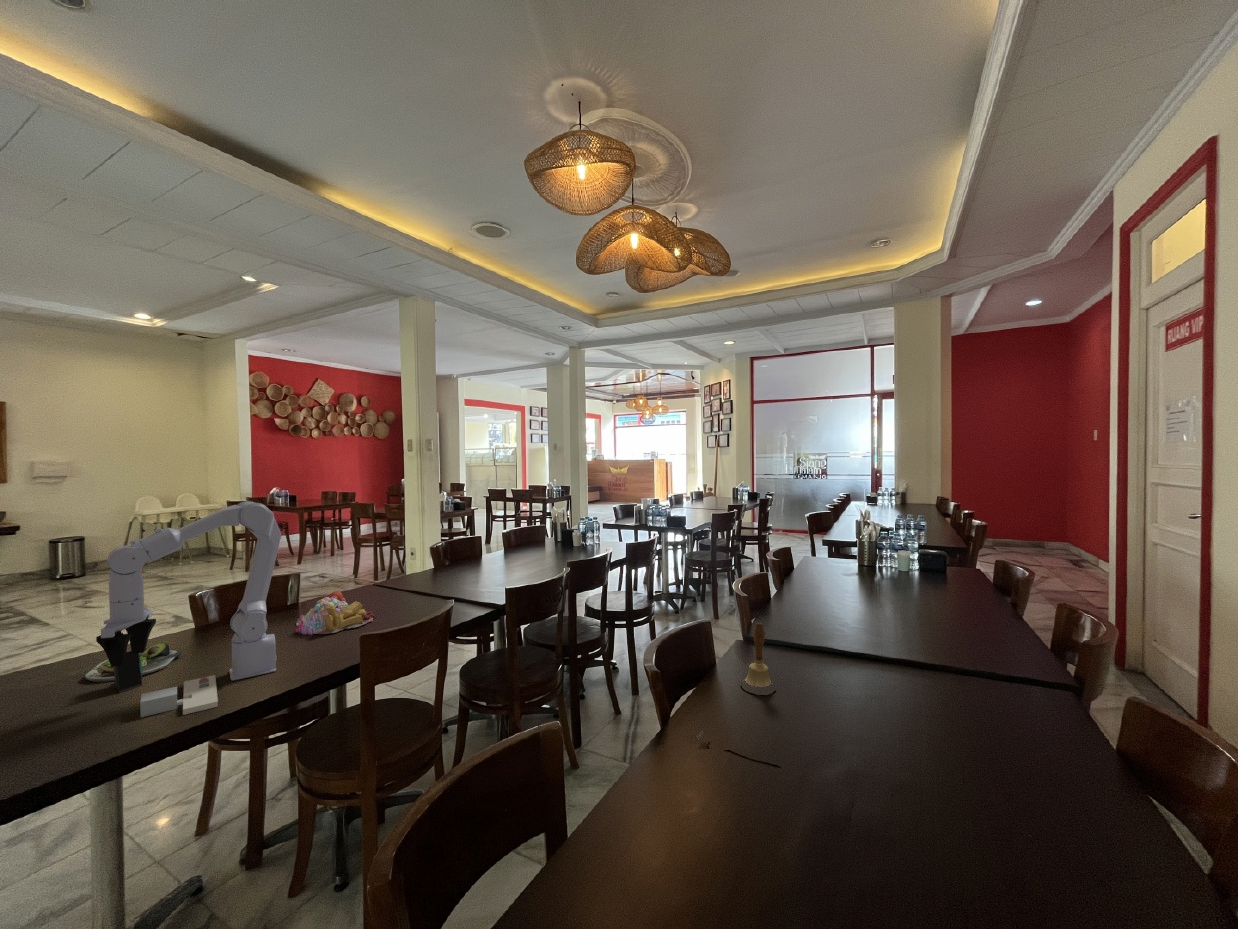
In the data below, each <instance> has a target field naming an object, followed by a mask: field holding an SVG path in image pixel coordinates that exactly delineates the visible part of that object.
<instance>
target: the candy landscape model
mask: <svg viewBox="0 0 1238 929" xmlns="http://www.w3.org/2000/svg"><path fill="white" fill-rule="evenodd" d="M362 607H363V604H361V602H359V601H356V600H355V601H353V602H352V603H351V604H348V603H347V600H346V598H345V597H343V593H342V592H341V591H339V590H334V591H332V592H330V595H329V596H325V597H324V598H321V599H320V600H318V601H316V604H315V605H314V607H313V608H309V611H308V612H307V613H306V614H305V615H304V614H300V616H299V618H297V622H295V625H296V627H298V628H296V629H295V632H296V633H298V634H302V635H303V636H304V635H305V636H307V635H310V636H313V635H315V634H316V635H317V634H318V635H327V634H334V633H338V632H340V631H343V630H345V629H346V630H347V629H351V628H352V629H354V628H359V627H361V626H363V625H366V624H367V623H369V622H373V621H374V619H376V615H375V614H374V613H373V611H369V610H368V611H366V610H365V609H364V608H362Z"/></svg>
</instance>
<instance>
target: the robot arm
mask: <svg viewBox="0 0 1238 929" xmlns="http://www.w3.org/2000/svg"><path fill="white" fill-rule="evenodd" d="M240 525H241V526H243V527H245V528H247V529H248V530H249V531H250V532H251V533H252V534H253V535H254V536H255V538H256V539H257V540H256V544H255V547H254V548H255V549H254V553H253V556H252V559H251V560H252V561H251V564H250V569H249V573H248V577H247V581H246V585H245V588H244V593H243V597H242V599H241V601H240V602H239V604H238V607H237V609H236V612H235V613H234V614H233V615H232V616H231V619H230V623H229V624H230V625H229V626H230V628H231V630H233V631H234V634H233V636H232V638H231V668H230V669H229V676H230V681H232V682H233V681H238V680H242V679H247V678H251V677H257V676H260V675H261V676H262V675H266V674H268V673H269V674H270V673H274V672H276V671H277V647H276V645H277V644H276V636H275V633H270V634H267V630H268V621H267V617H266V616H267V612H268V611H267V604H266V603H267V597H268V593H269V589H270V586H271V580H272V577H273V576H272V575H273V572H274V568H275V565H276V561H277V560H276V559H277V555H278V551H279V547H280V542H281V539H282V532H281V529H280V527H279V525H278V523H277V521H276V518H275V513H274V512H273V511H271V509H269V508H268V507H267V505H265V504H263V503H259V502H255V501H252V500H245V501H241V502H240V503H237V504H234V505H233V504H232V505H229V506H227V507H225V508H222V509H219V510H217V511H214V512H212V513H210V514H208V515H207V516H204V517H201V518H200V519H197V520H195V521H193V522H191V523H189V524H187V525H184V526H182V527H180V528H178V529H175V528H171V527H166V528H164V529H163V528H162V527H159V528H157V529H154V533H152V534H150V535H147V536H145V537H143V538H140V539H138V540H135V539H132V540H130V541H129V544H130V545H121V546H117V547H115V548H114V549H113V550H111V551H110V553H108V557H107V558H106V563H107V565H108V567H109V568H110V569H109V573H108V576H109V577H108V578H109V581H108V600H109V604H108V605H109V619H105V620H104V621H103V625H105V626H104V627H103V628H101V629H100V635H98V636H96V637H95V639H96V640H95V641H96V643H97V644H99V645H100V647H101V648H102V650H103V651H104V653H105V655H106V657H107V660H109V662H110V665H111V666H122V665H124V664H125V660H126V652H128V651H127V650H128V649H127V648H128V647H129V646H128V645H129V644H130V651H132V653H133V654H134V653H140V654H141V653H143V652H145V649H146V648H147V645H148V641H149V638H150V635H151V632H152V630H153V629H154V626H155V625H156V623H157V619H156V618H151V617H152V609H150V608H148V609H145V592H144V590H145V589H144V585H145V584H144V582H145V581H144V577H143V572H142V571H143V567H144V566H145V564H146V563H147V564H148V563H152V562H155V561H157V560H159V559H161V558H163V557H166V556H168V555H171V554H172V553H175V552H177V551H179V550H182V548H183V546H184V544H185V543H186V541H189V540H191V539H193V538H196V537H198V536H200V535H203V534H206V533H209V532H210V531H213V530H215V529H218V528H220V527H223V526H225V527H230V526H231V527H239V526H240ZM124 630H125V631H126V633H124V632H122V631H124Z"/></svg>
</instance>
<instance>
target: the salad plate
mask: <svg viewBox="0 0 1238 929" xmlns="http://www.w3.org/2000/svg"><path fill="white" fill-rule="evenodd" d="M185 652H186V650H182V649H181V650H180V651H177V650H174V649H173V650H172V649H170V646H169V644H168V643H166V642H156V643H153V644H151V645H150V646H148V647H146V649H145V652H143V653H140V662H141V664H142V676H145V675H149V674H152V673H155V672H157V671H158V672H159V671H160V670H162V669H164V668H166V667H167V666H168V665H169V664H170V663H172V662H173V661H174V660H175V659H176V658H178V657H179V656H180V655H182V654H184V653H185ZM103 671H104V672H106V673H114V668H113V666H111V665H110V662H109V660H108V659H105V660H104V661H102V662H100V663H98V664H97V665H96V666H95V667H93V668H92V669H91V670H89V671H88V672H86V674H85V675H84V678H85V679H86V680H89V681H92V682H95V683H106V682H107V683H108V682H115V678H114V675H113V676H105V677H102V676H101V677H100V676H99V675H102V674H101V672H103ZM104 672H103V673H104Z"/></svg>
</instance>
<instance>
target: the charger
mask: <svg viewBox="0 0 1238 929" xmlns="http://www.w3.org/2000/svg"><path fill="white" fill-rule="evenodd" d="M184 699H189V698H184ZM184 699H183V698H181V699H178V686H172V687H168V688H163V689H160V690H153V691H149V692H145V693H141V695H140V706H139V707H140V708H139V709H140V718H145V717H147V716H148V717H149V716H153V715H157V714H161V713H165V712H170V711H174V710H178V706H183V700H184Z"/></svg>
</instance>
